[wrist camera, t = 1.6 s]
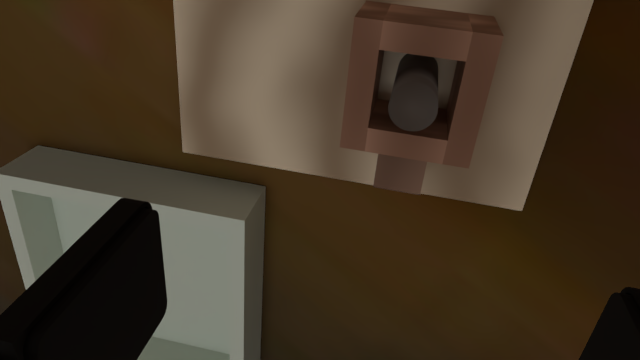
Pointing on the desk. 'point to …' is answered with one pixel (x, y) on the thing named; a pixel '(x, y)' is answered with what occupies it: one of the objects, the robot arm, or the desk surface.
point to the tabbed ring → (450, 124)
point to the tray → (176, 236)
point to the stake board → (395, 85)
